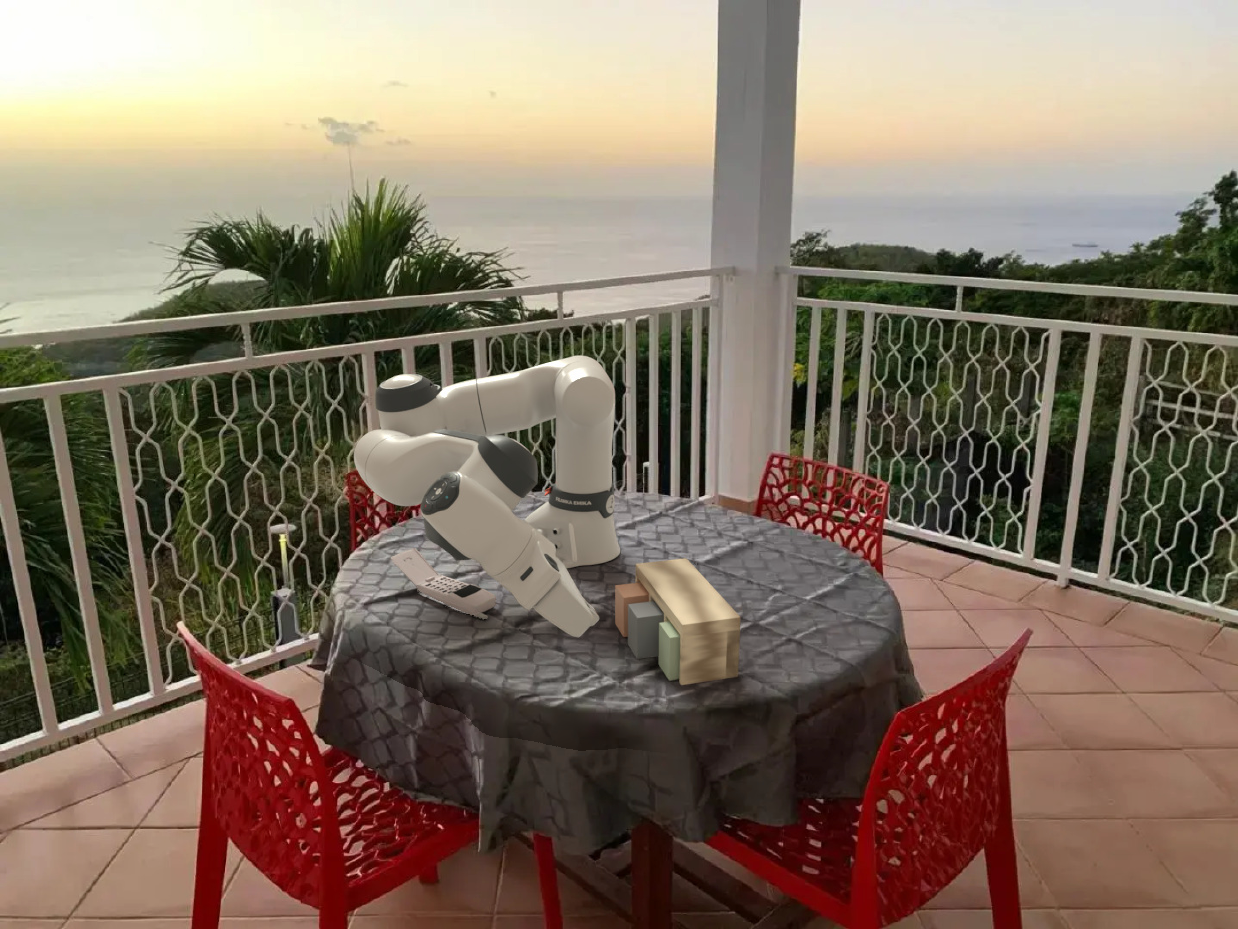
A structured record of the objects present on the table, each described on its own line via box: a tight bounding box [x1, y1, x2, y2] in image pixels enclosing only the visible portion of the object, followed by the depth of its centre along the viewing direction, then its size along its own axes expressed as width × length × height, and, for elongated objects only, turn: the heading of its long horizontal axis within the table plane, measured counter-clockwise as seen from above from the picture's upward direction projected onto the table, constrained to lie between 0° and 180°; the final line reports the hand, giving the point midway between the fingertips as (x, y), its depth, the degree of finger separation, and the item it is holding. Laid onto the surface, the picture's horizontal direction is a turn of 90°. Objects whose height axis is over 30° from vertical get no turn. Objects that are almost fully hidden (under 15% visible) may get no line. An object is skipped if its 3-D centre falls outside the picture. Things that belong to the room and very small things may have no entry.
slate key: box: [627, 601, 664, 660], centre depth 142 cm, size 7×5×7 cm
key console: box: [634, 557, 741, 686], centre depth 143 cm, size 9×23×10 cm, turn 16°
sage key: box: [658, 622, 680, 681], centre depth 136 cm, size 7×5×7 cm
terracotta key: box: [614, 582, 649, 638], centre depth 149 cm, size 7×5×7 cm
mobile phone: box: [389, 547, 497, 620], centre depth 162 cm, size 6×6×25 cm
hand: (593, 618), depth 130 cm, fingers closed
